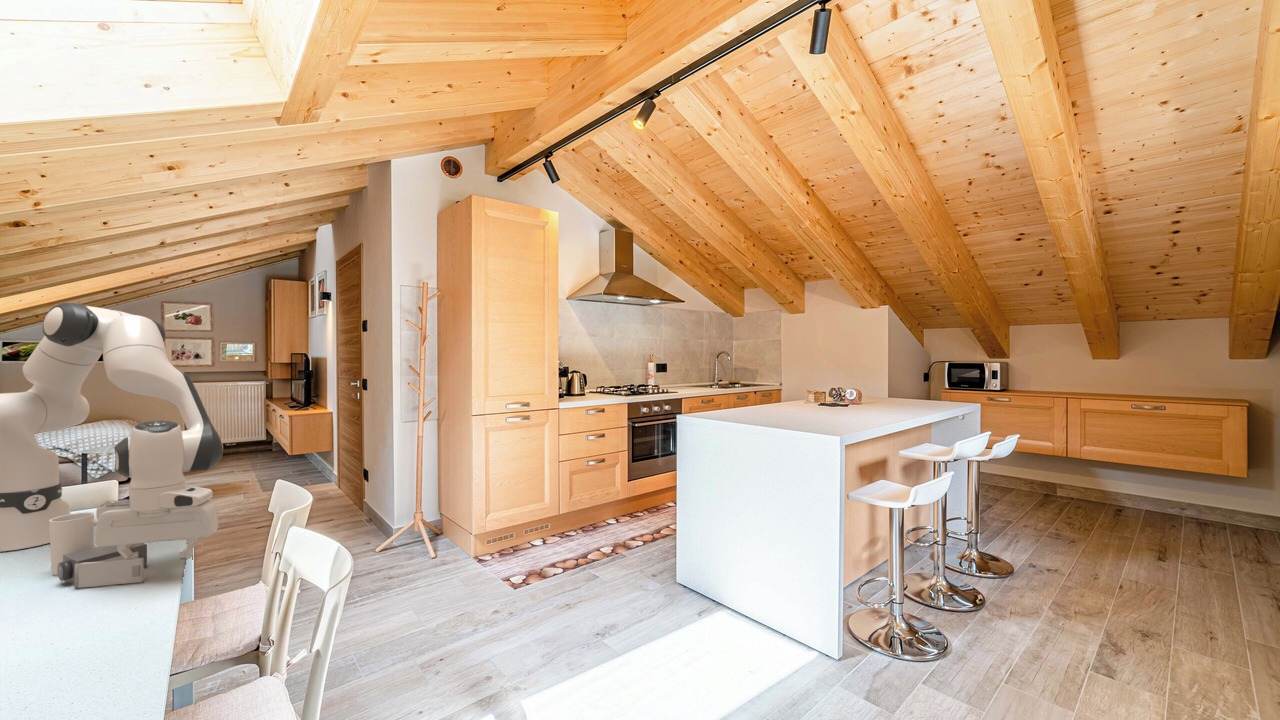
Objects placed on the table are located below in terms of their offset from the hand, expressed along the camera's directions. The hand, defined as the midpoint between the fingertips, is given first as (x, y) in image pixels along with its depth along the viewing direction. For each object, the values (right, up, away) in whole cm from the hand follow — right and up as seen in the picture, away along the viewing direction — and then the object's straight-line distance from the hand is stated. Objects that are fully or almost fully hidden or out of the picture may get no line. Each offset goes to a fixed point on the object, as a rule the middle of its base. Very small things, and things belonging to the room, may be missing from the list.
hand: (159, 561), depth 111 cm
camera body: (-14, -4, +2) cm, 15 cm away
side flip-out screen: (-7, -3, -4) cm, 9 cm away
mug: (-23, -4, +6) cm, 24 cm away
